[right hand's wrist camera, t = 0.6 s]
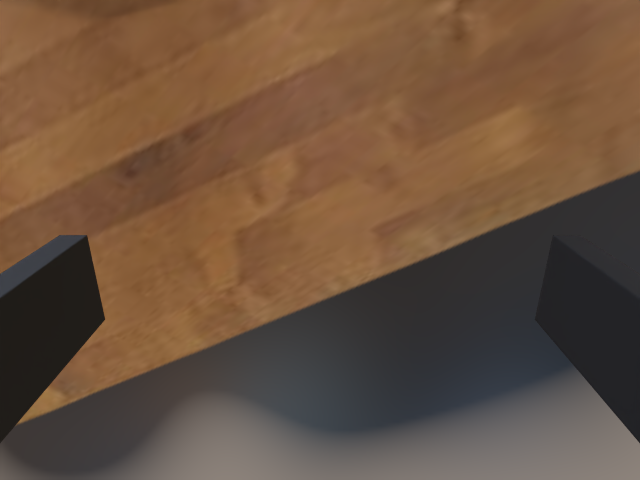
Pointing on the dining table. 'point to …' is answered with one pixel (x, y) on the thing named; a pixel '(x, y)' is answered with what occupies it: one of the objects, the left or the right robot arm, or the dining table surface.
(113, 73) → the dining table surface
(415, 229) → the dining table surface
